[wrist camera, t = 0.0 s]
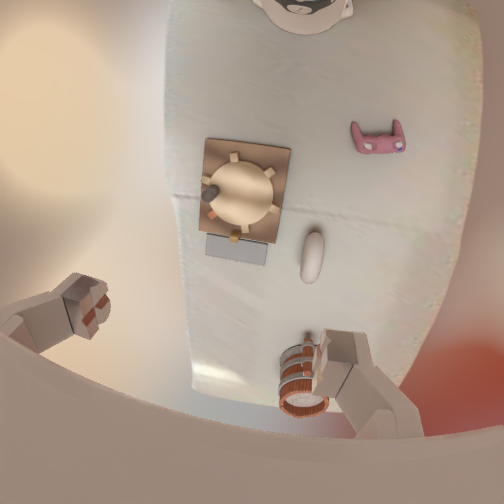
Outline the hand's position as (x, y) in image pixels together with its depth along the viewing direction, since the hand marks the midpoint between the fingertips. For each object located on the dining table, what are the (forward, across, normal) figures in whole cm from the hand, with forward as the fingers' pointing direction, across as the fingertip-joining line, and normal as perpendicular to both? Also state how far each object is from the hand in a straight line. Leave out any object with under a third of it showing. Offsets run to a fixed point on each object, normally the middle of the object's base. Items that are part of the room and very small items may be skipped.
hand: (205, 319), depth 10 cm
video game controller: (+48, -17, -7) cm, 52 cm away
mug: (+48, -15, +49) cm, 71 cm away
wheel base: (+48, +6, +9) cm, 49 cm away
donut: (+48, -9, +18) cm, 52 cm away
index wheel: (+46, +7, +9) cm, 48 cm away
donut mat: (+48, +6, +22) cm, 53 cm away
